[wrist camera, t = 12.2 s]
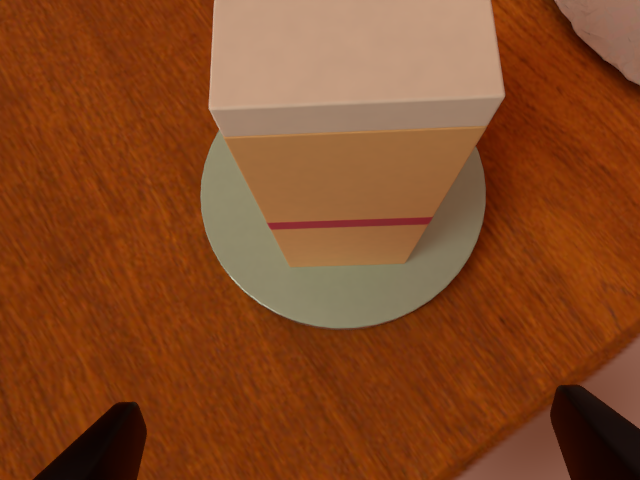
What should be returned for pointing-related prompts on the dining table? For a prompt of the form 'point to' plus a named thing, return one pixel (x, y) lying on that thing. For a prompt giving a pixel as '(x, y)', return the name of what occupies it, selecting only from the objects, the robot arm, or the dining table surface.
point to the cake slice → (352, 115)
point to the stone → (609, 30)
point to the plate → (336, 281)
